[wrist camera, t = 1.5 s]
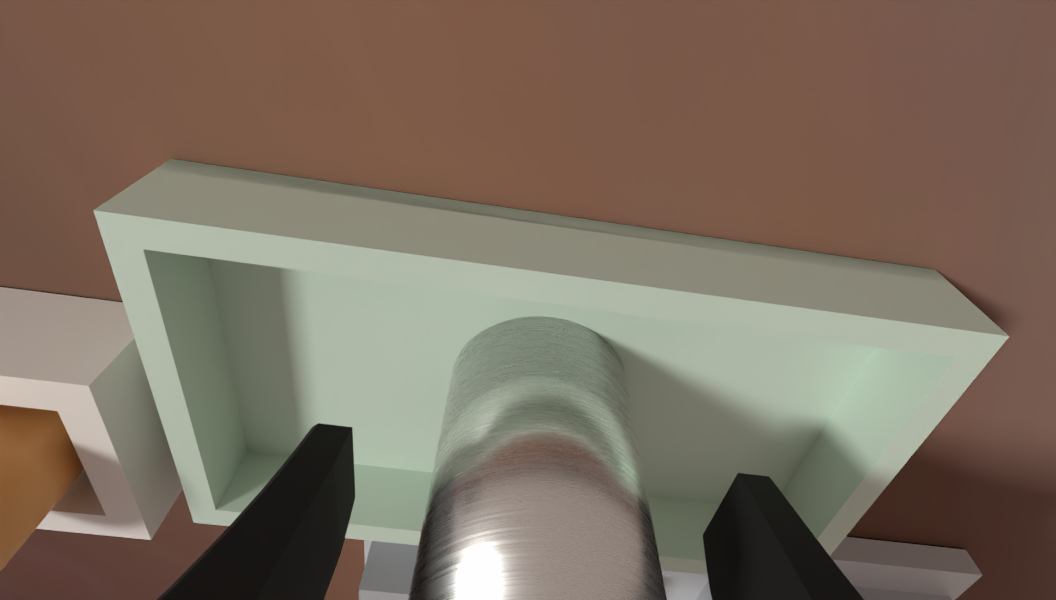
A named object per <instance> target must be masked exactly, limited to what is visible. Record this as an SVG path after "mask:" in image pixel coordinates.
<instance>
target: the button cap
mask: <svg viewBox="0 0 1056 600" xmlns="http://www.w3.org/2000/svg"><path fill="white" fill-rule="evenodd" d="M83 470H84V467H83V465H82V463H81V461H80V458H79V456H78V454H77V452H76V450H75V448H74V446H73V443H72V441H71V439H70V437H69V435H68V433H67V431H66V428H65V426H64V424H63V422H62V420H61V418H60V416H59V413H58V411H52V410H44V409H35V408H26V407H17V406H8V405H0V571H1V570H2V569H3V568H4V567H5V566H6V564H7V563H8V562H9V561H10V559H11V558H12V557H13V556H14V555H15V553H16V552H17V551H18V550H19V548H20V547H21V546H22V545H23V544H24V542H25V541H26V540H27V539H28V538H29V536H30V535H31V534H32V533H33V531H34V530H35V529H36V528H37V527H38V525H39V524H40V523H41V522H42V520H43V519H44V518H45V517H46V516H47V514H48V513H49V512H50V511H51V509H52V508H53V507H54V506H55V505H56V503H57V502H58V501H59V500H60V498H61V497H62V496H63V495H64V494H65V492H66V491H67V490H68V489H69V488H70V486H71V485H72V484H73V483H74V481H75V480H76V479H77V478H78V477H79V475H80V474H81V473H82V472H83Z"/></svg>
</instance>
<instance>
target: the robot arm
mask: <svg viewBox="0 0 1056 600" xmlns="http://www.w3.org/2000/svg"><path fill="white" fill-rule="evenodd" d="M354 501H355V476H354V454H353V431H352V427H346V426H337V425H329V424H321V423H318V424H316V425H314V426H313V427H312V428H311V429H310V431H309V432H308V433H307V435H306V436H305V437H304V439H303V440H302V441H301V442H300V444H299V445H298V446H297V448H296V449H295V450H294V451H293V453H292V454H291V455H290V456H289V458H288V459H287V460H286V461H285V463H284V464H283V465H282V466H281V467H280V469H279V470H278V471H277V472H276V473H275V475H274V476H273V477H272V478H271V479H270V481H269V482H268V483H267V484H266V485H265V487H264V488H263V489H262V490H261V491H260V492H259V493H258V495H257V496H256V497H255V498H254V499H253V500H252V501H251V502H250V504H249V505H248V506H247V507H246V508H245V509H244V510H243V511H242V513H241V514H240V515H239V516H238V517H237V518H236V519H235V520H234V521H233V523H232V524H231V525H230V526H229V527H228V528H227V529H226V530H225V531H224V532H223V534H222V535H221V536H220V537H219V538H218V539H217V540H216V541H215V542H214V543H213V544H212V545H211V546H210V547H209V548H208V549H207V550H206V551H205V552H204V553H203V554H202V555H201V556H200V557H199V558H198V559H197V560H196V561H195V562H194V563H193V564H192V565H191V567H190V568H189V569H188V570H187V571H186V572H185V573H184V574H183V575H182V576H181V577H180V578H179V579H178V580H177V581H176V582H175V583H174V584H173V585H172V586H171V587H170V588H169V589H168V590H167V591H166V592H165V593H163V594H162V595H161V596H160V597H159V598H158V599H157V600H324V597H325V594H326V592H327V589H328V586H329V584H330V581H331V578H332V576H333V573H334V570H335V567H336V565H337V562H338V559H339V556H340V554H341V550H342V547H343V543H344V539H345V535H346V532H347V528H348V524H349V520H350V516H351V512H352V508H353V505H354ZM703 543H704V551H705V559H706V567H707V574H708V580H709V587H710V593H711V597H712V600H864V599H863V598H862V596H861V595H860V594H859V593H858V591H857V590H856V589H855V588H854V586H853V585H852V584H851V583H850V581H849V580H848V579H847V578H846V576H845V575H844V574H843V572H842V571H841V570H840V569H839V567H838V566H837V565H836V563H835V562H834V561H833V560H832V558H831V557H830V556H829V554H828V553H827V552H826V551H825V549H824V548H823V547H822V545H821V544H820V543H819V541H818V540H817V539H816V537H815V536H814V535H813V533H812V532H811V531H810V529H809V528H808V527H807V526H806V524H805V523H804V522H803V520H802V519H801V518H800V516H799V515H798V514H797V512H796V511H795V510H794V508H793V507H792V506H791V504H790V503H789V502H788V500H787V499H786V498H785V496H784V495H783V494H782V492H781V491H780V490H779V488H778V487H777V486H776V485H775V483H774V482H773V481H772V479H771V478H770V477H769V476H761V475H752V474H744V473H738V474H737V475H736V477H735V479H734V481H733V482H732V484H731V486H730V488H729V490H728V491H727V493H726V495H725V497H724V498H723V500H722V502H721V504H720V505H719V507H718V509H717V511H716V512H715V514H714V516H713V518H712V519H711V521H710V523H709V525H708V526H707V528H706V530H705V532H704V533H703Z"/></svg>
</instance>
